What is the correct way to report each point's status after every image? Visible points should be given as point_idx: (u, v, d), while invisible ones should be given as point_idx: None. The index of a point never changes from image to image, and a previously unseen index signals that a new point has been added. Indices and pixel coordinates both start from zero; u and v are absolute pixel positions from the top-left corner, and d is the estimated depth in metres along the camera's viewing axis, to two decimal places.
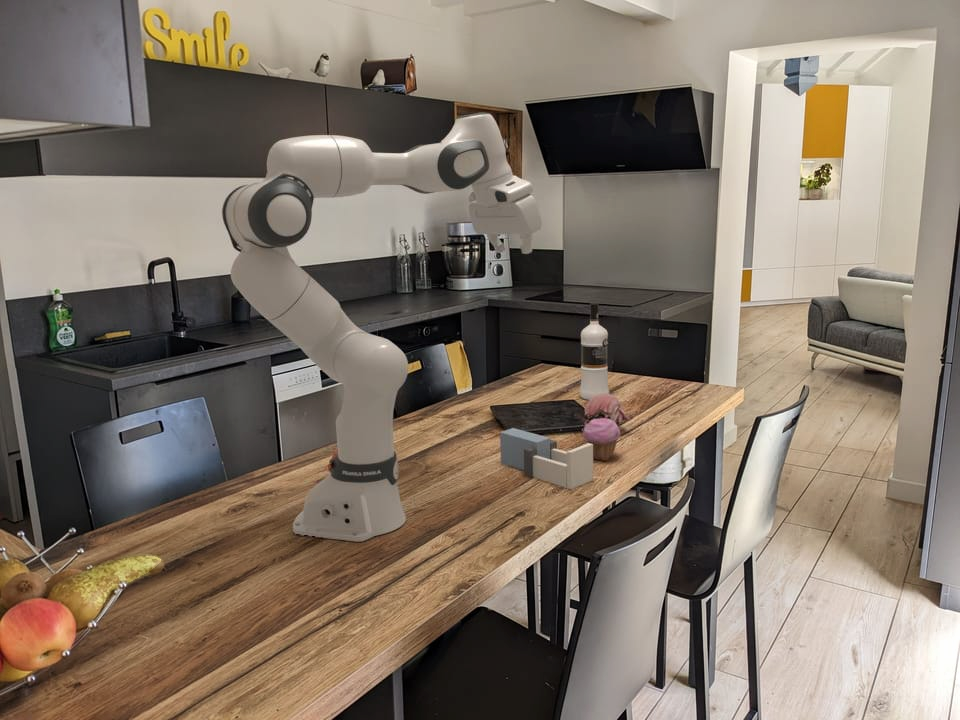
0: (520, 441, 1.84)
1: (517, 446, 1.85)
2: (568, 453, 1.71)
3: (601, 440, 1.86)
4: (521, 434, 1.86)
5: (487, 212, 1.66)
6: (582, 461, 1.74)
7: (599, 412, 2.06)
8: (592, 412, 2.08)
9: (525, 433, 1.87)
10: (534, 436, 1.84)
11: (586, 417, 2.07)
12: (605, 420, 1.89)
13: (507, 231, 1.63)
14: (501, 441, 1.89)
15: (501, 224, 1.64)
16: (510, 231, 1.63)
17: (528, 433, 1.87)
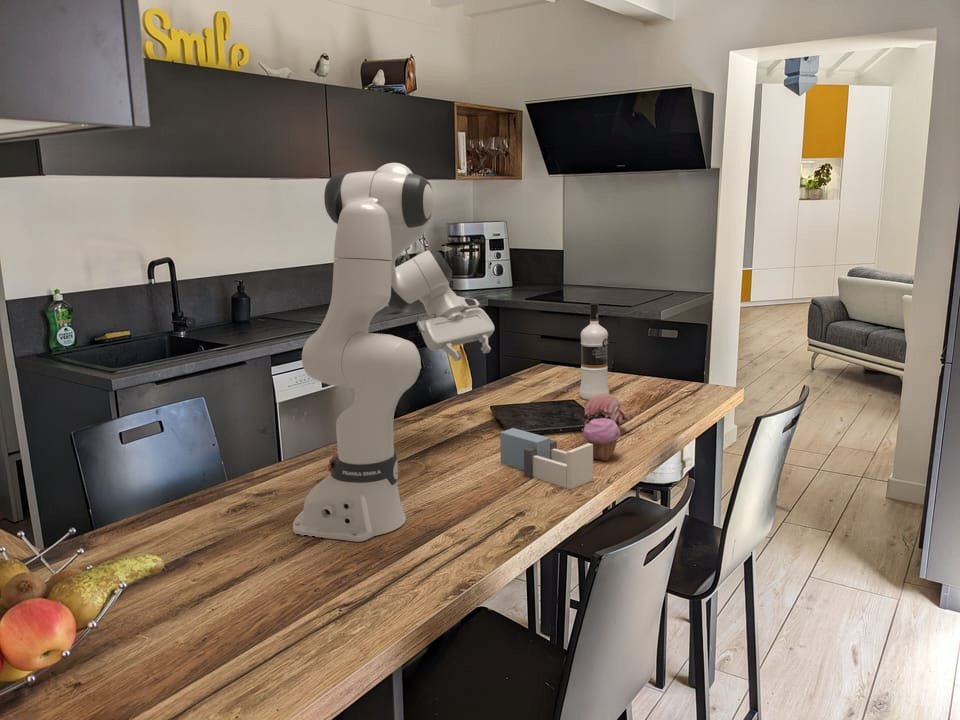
0: (520, 441, 1.84)
1: (517, 446, 1.85)
2: (568, 453, 1.71)
3: (601, 440, 1.86)
4: (521, 434, 1.86)
5: (448, 323, 1.95)
6: (582, 461, 1.74)
7: (599, 412, 2.06)
8: (592, 412, 2.08)
9: (525, 433, 1.87)
10: (534, 436, 1.84)
11: (586, 417, 2.07)
12: (605, 420, 1.89)
13: (473, 332, 1.97)
14: (501, 441, 1.89)
15: (466, 328, 1.97)
16: (476, 331, 1.97)
17: (528, 433, 1.87)
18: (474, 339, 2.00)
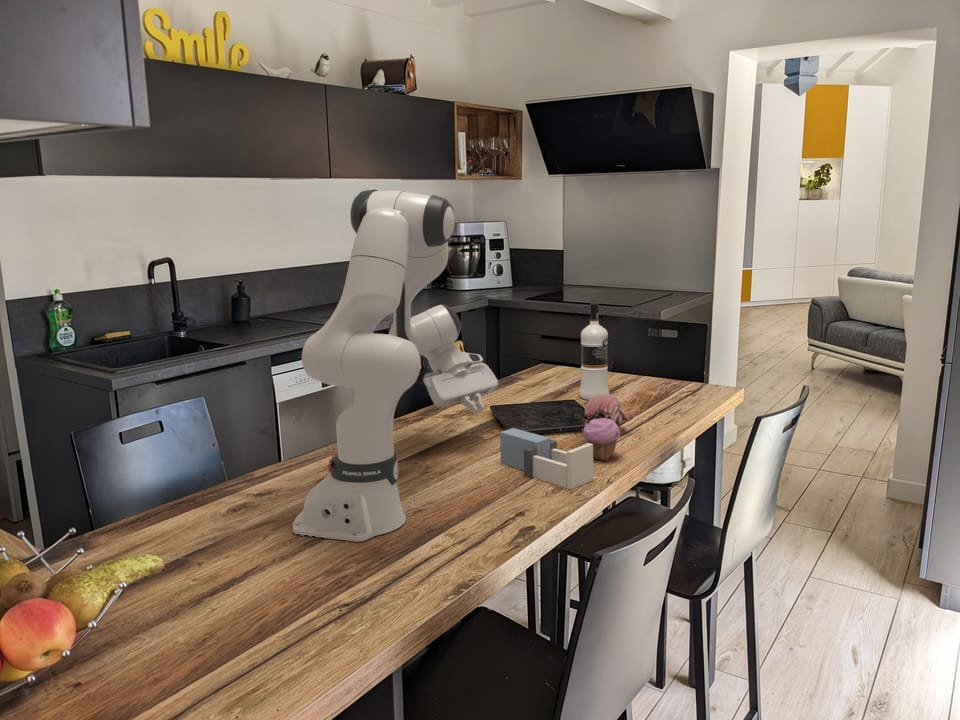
0: (520, 441, 1.84)
1: (517, 446, 1.85)
2: (568, 453, 1.71)
3: (601, 440, 1.86)
4: (521, 434, 1.86)
5: (453, 379, 1.96)
6: (582, 461, 1.74)
7: (599, 412, 2.06)
8: (592, 412, 2.08)
9: (525, 433, 1.87)
10: (534, 436, 1.84)
11: (586, 417, 2.07)
12: (605, 420, 1.89)
13: (478, 387, 1.99)
14: (501, 441, 1.89)
15: (471, 384, 1.98)
16: (480, 387, 1.99)
17: (528, 433, 1.87)
18: None
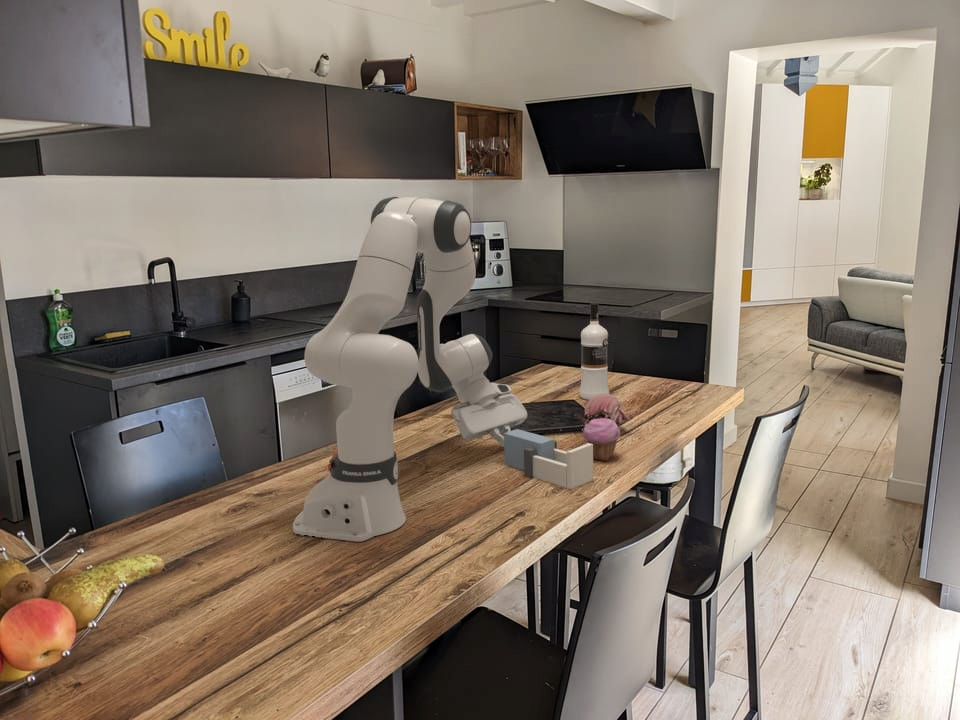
0: (524, 443, 1.83)
1: (521, 447, 1.84)
2: (568, 453, 1.71)
3: (601, 440, 1.86)
4: (525, 435, 1.85)
5: (482, 411, 1.90)
6: (582, 461, 1.74)
7: (599, 412, 2.06)
8: (592, 412, 2.08)
9: (529, 434, 1.86)
10: (538, 437, 1.83)
11: (586, 417, 2.07)
12: (605, 420, 1.89)
13: (507, 419, 1.92)
14: (505, 442, 1.88)
15: (500, 416, 1.92)
16: (510, 419, 1.93)
17: (532, 434, 1.86)
18: None
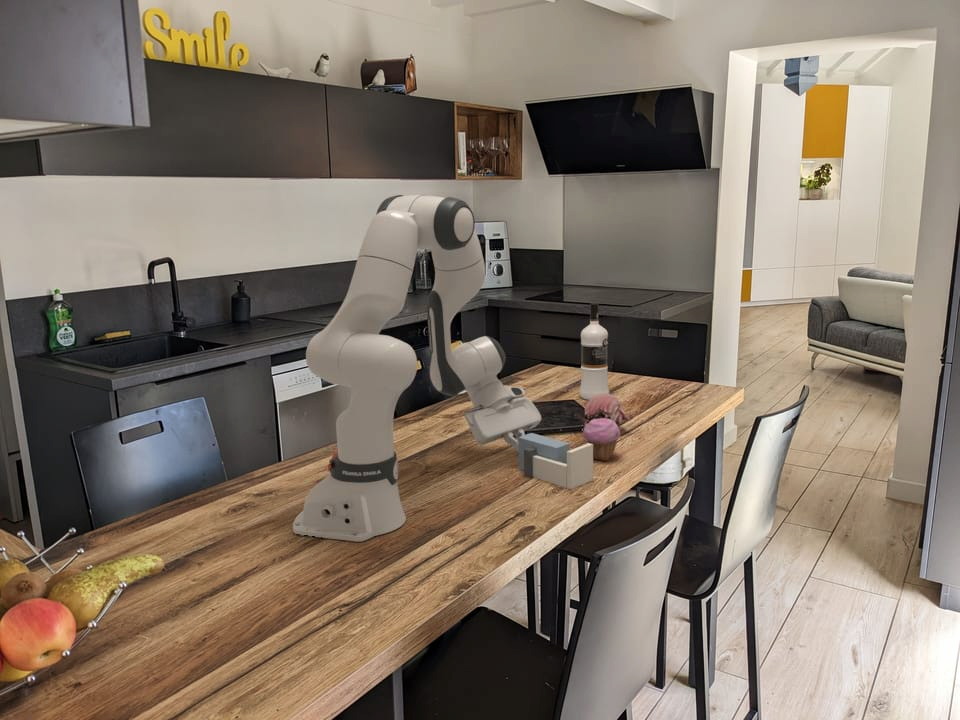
0: (539, 447, 1.79)
1: (536, 452, 1.81)
2: (568, 453, 1.71)
3: (601, 440, 1.86)
4: (540, 439, 1.82)
5: (496, 415, 1.87)
6: (582, 461, 1.74)
7: (599, 412, 2.06)
8: (592, 412, 2.08)
9: (544, 438, 1.83)
10: (553, 441, 1.80)
11: (586, 417, 2.07)
12: (605, 420, 1.89)
13: (521, 423, 1.89)
14: (519, 446, 1.84)
15: (514, 419, 1.89)
16: (524, 423, 1.90)
17: (547, 438, 1.82)
18: None
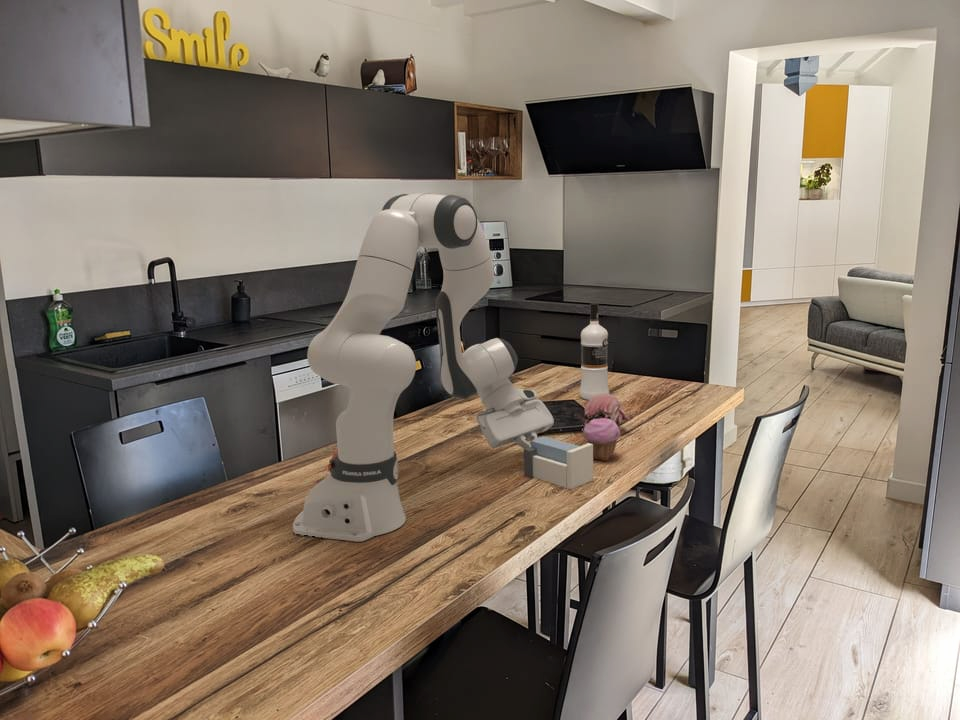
0: (553, 451, 1.77)
1: (549, 455, 1.78)
2: (568, 453, 1.71)
3: (601, 440, 1.86)
4: (553, 442, 1.79)
5: (508, 418, 1.84)
6: (582, 461, 1.74)
7: (599, 412, 2.06)
8: (592, 412, 2.08)
9: (557, 441, 1.80)
10: (566, 445, 1.77)
11: (586, 417, 2.07)
12: (605, 420, 1.89)
13: (534, 426, 1.86)
14: None
15: (527, 422, 1.86)
16: (536, 426, 1.87)
17: (560, 442, 1.80)
18: None
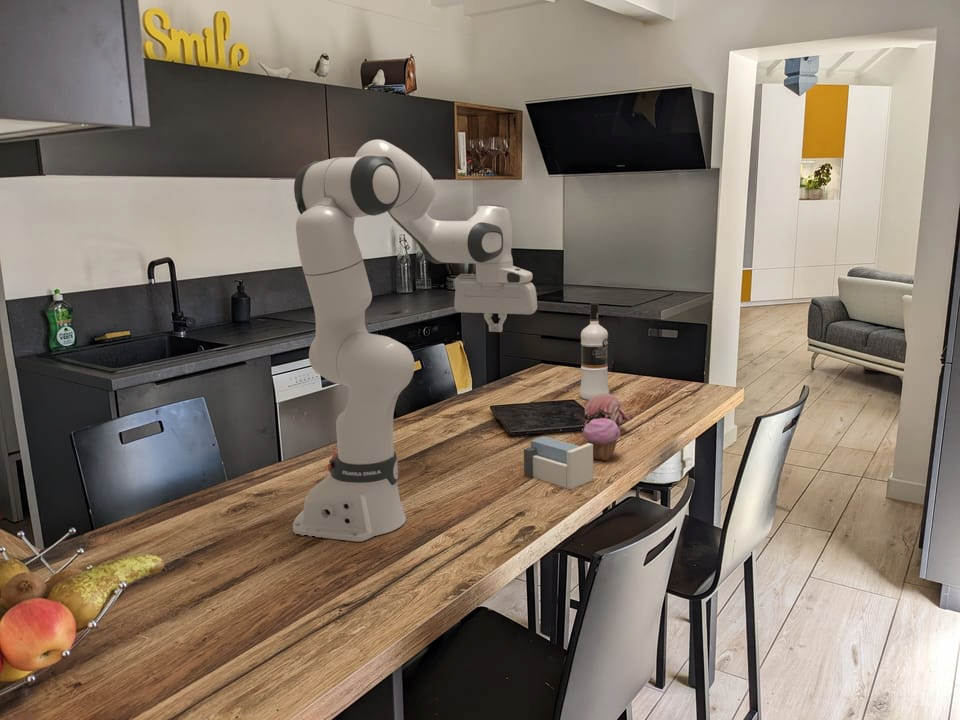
0: (553, 451, 1.77)
1: (549, 455, 1.78)
2: (568, 453, 1.71)
3: (601, 440, 1.86)
4: (553, 442, 1.79)
5: (481, 292, 1.86)
6: (582, 461, 1.74)
7: (599, 412, 2.06)
8: (592, 412, 2.08)
9: (557, 441, 1.80)
10: (566, 445, 1.77)
11: (586, 417, 2.07)
12: (605, 420, 1.89)
13: (502, 310, 1.85)
14: None
15: (497, 304, 1.85)
16: (505, 310, 1.85)
17: (560, 442, 1.80)
18: None
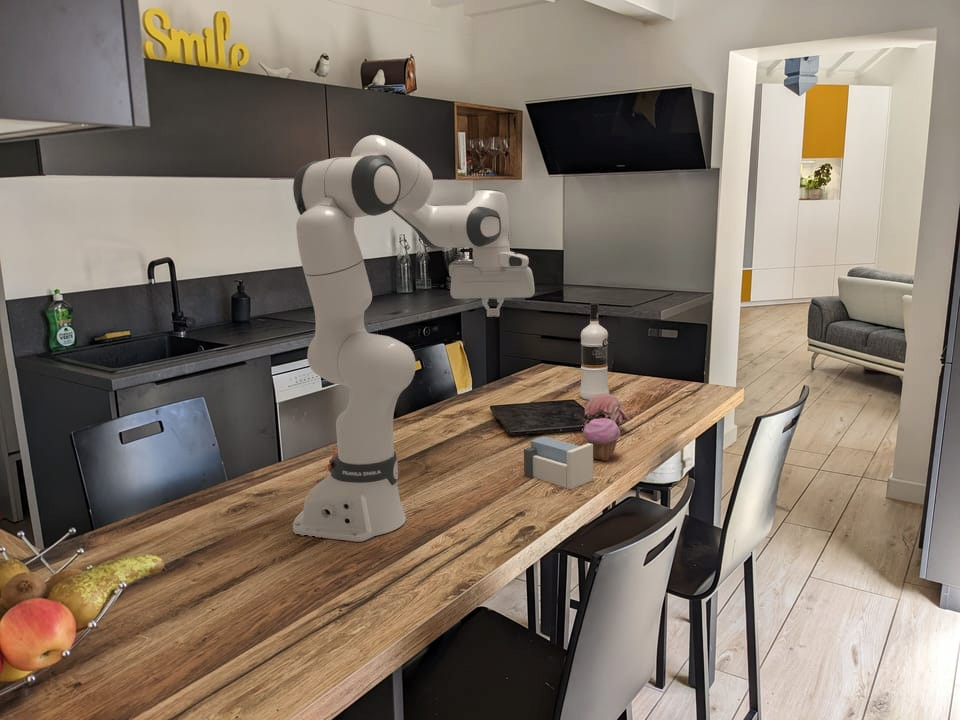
0: (553, 451, 1.77)
1: (549, 455, 1.78)
2: (568, 453, 1.71)
3: (601, 440, 1.86)
4: (553, 442, 1.79)
5: (479, 277, 1.86)
6: (582, 461, 1.74)
7: (599, 412, 2.06)
8: (592, 412, 2.08)
9: (557, 441, 1.80)
10: (566, 445, 1.77)
11: (586, 417, 2.07)
12: (605, 420, 1.89)
13: (502, 294, 1.86)
14: None
15: (497, 288, 1.86)
16: (505, 294, 1.86)
17: (560, 442, 1.80)
18: None
